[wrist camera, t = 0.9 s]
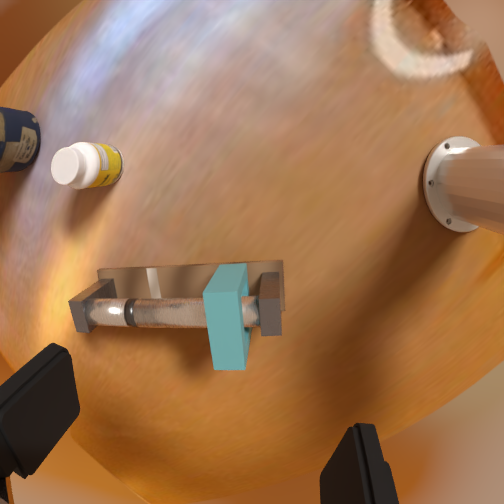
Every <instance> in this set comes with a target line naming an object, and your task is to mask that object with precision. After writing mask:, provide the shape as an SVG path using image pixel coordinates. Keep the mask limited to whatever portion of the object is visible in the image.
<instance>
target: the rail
mask: <svg viewBox="0 0 504 504" xmlns="http://www.w3.org/2000/svg"><path fill="white" fill-rule="evenodd" d="M241 301H242V311H243V322H244V327H261V336H279V335H282V330H281V297H280V278H279V272H262V279H261V286H260V294H259V295H258V296H241ZM68 302H69V306H70V309H71V313H72V317H73V320H74V324H75V327H76V331H77V332H85V333H90V332H91V331H92V330H93V329H94V328H95V327H96V326H98V325H101V326H122V327H152V328H207V321H206V314H205V307H204V300H203V297H202V298H139V299H118V297H117V293H116V288H115V283H114V278H108V279H100V280H99V281H97V282H96V283H94V284H93V285H91V286H90V287H88V288H87V289H85V290H84V291H82V292H81V293H79V294H78V295H76V296H75V297H74V298H72V299H71V300H69V301H68Z"/></svg>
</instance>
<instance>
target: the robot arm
mask: <svg viewBox="0 0 504 504" xmlns="http://www.w3.org/2000/svg"><path fill="white" fill-rule="evenodd" d="M444 145H445V147H444ZM429 182H430V184H428V183H429ZM423 189H424V195H425V199H426V202H427V205H428V207H429V209H430V211H431V213H432V214H433V216H434V217H435V219H436V220H437V221H438V222H439V223H440V224H442V225H443V226H445V227H446V228H448V229H451V230H453V231H457V232H469V231H472V230H475V229H477V228H478V227H482V228H485V229H488V230H491V231H494V232H497V233H500V234H503V235H504V145H493V146H481V145H480V144H478V143H477V142H476V141H474V140H472V139H470V138H467V137H463V136H454V137H449V138H447V139H444V140H442V141H441V142H439V143H438V144H437V145H436V146H435V147H434V148H433V149H432V151H431V152H430V154H429V156H428V158H427V161H426V164H425V167H424V173H423ZM446 220H447V221H446ZM79 412H80V405H79V400H78V395H77V389H76V384H75V378H74V371H73V365H72V358H71V355H70V354H69V352H68V350H67V349H66V348H64V347H62V346H60V345H57V344H55V343H51V344H49V345H48V346H47V347H46V348H44V349H43V350H42V351H41V352H40V353H38V354H37V355H36V356H35V357H34V358H32V359H31V360H30V361H29V362H28V363H26V364H25V365H24V366H23V367H22V368H21V369H19V370H18V371H17V372H16V373H15V374H14V375H12V376H11V377H10V378H9V379H8V380H7V381H6V382H4V383H3V384H2V385H1V386H0V504H14V500H13V494H12V488H11V481H10V475H11V473H12V472H13V471H14V472H15V473H17V474H18V475H19V476H21V477H22V478H24V479H26V477H27V476H28V475H32V474H33V473H35V471H36V470H37V469H38V467H39V466H40V465H41V463H42V462H43V461H44V459H45V458H46V457H47V455H48V454H49V453H50V451H51V450H52V449H53V448H54V446H55V445H56V444H57V442H58V441H59V440H60V438H61V437H62V436H63V435H64V433H65V432H66V431H67V429H68V428H69V427H70V426H71V424H72V423H73V422H74V420H75V419H76V418H77V417H78V415H79ZM320 500H321V504H399V501H398V497H397V493H396V489H395V485H394V481H393V477H392V473H391V469H390V466H389V464H388V463H387V462H386V461H384V458H383V455H382V451H381V447H380V443H379V439H378V435H377V432H376V428H375V426H374V425H373V424H365V423H356V424H355V425H354V426H353V427H349V428H348V429H347V431H346V433H345V435H344V436H343V438H342V440H341V442H340V443H339V445H338V447H337V448H336V450H335V452H334V453H333V455H332V456H331V458H330V460H329V461H328V463H327V464H326V466H325V467H324V469H323V471H322V472H321V475H320Z"/></svg>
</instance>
